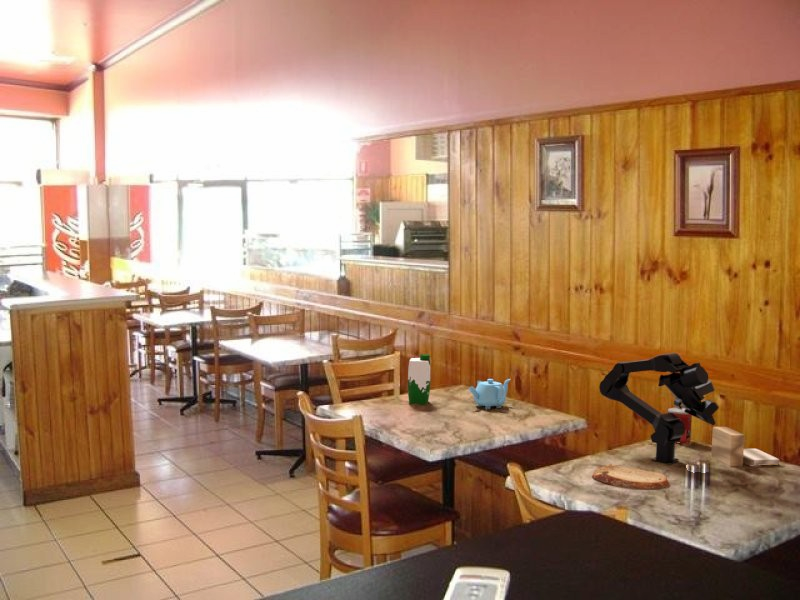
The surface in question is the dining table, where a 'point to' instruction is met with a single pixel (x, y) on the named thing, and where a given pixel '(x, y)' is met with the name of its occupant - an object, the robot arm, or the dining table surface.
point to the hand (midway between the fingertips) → (711, 423)
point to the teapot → (490, 393)
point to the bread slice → (629, 477)
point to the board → (758, 457)
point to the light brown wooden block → (727, 446)
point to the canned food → (685, 419)
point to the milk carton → (419, 379)
